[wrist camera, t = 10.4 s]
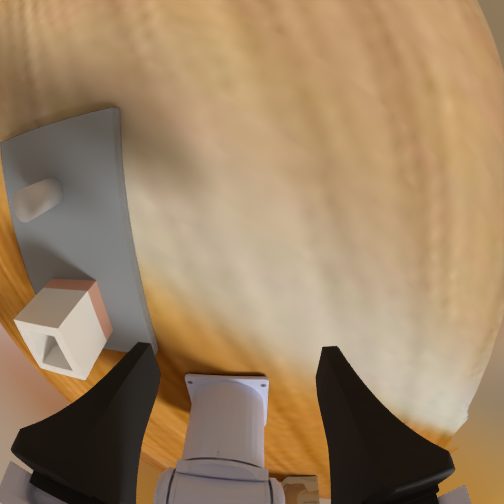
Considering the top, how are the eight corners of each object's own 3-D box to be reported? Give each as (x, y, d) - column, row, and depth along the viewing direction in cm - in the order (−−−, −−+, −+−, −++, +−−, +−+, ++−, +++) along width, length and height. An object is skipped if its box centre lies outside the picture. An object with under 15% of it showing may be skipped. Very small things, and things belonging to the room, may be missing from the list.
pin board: (158, 348, 24) (145, 385, 20) (59, 333, 24) (40, 361, 20) (119, 107, 15) (82, 107, 11) (7, 141, 15) (-29, 151, 11)
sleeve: (113, 330, 22) (85, 380, 16) (70, 324, 22) (40, 367, 16) (96, 280, 20) (57, 328, 14) (52, 278, 20) (13, 319, 14)
